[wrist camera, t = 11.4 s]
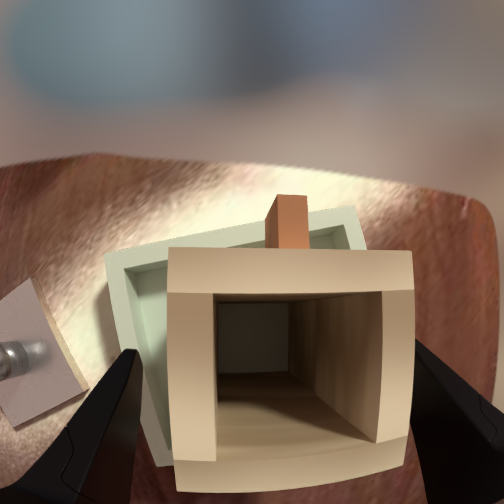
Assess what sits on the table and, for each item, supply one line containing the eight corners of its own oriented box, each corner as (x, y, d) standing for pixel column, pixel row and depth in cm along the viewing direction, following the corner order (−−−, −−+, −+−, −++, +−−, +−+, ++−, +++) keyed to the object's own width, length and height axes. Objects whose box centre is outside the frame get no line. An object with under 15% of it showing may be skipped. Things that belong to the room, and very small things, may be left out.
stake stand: (90, 387, 16) (58, 405, 12) (19, 424, 15) (-15, 441, 11) (37, 279, 17) (-2, 270, 13) (-25, 328, 16) (-63, 328, 11)
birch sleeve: (304, 385, 17) (402, 465, 6) (201, 388, 16) (177, 491, 6) (303, 258, 18) (404, 192, 8) (200, 257, 18) (173, 179, 7)
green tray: (374, 393, 18) (396, 404, 15) (165, 446, 16) (156, 466, 13) (336, 219, 20) (354, 204, 17) (120, 262, 18) (103, 253, 15)
